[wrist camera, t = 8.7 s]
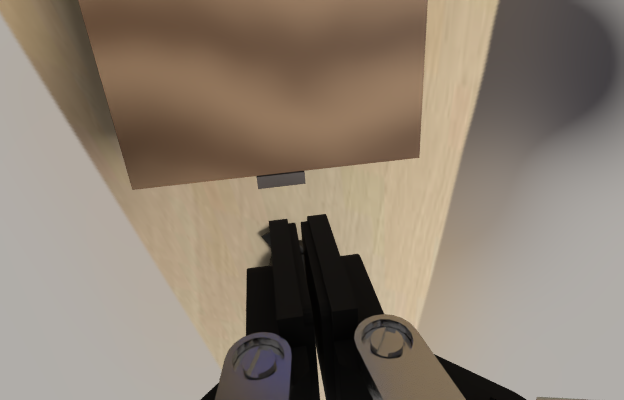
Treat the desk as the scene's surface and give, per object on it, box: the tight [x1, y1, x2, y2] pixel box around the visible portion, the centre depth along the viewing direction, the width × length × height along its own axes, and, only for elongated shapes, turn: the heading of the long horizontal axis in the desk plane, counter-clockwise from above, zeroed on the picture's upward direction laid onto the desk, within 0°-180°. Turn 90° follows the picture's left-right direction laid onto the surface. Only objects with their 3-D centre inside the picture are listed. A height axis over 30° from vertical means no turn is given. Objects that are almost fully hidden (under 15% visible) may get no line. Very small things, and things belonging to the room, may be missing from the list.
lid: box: [78, 0, 428, 190], centre depth 23 cm, size 17×18×2 cm
